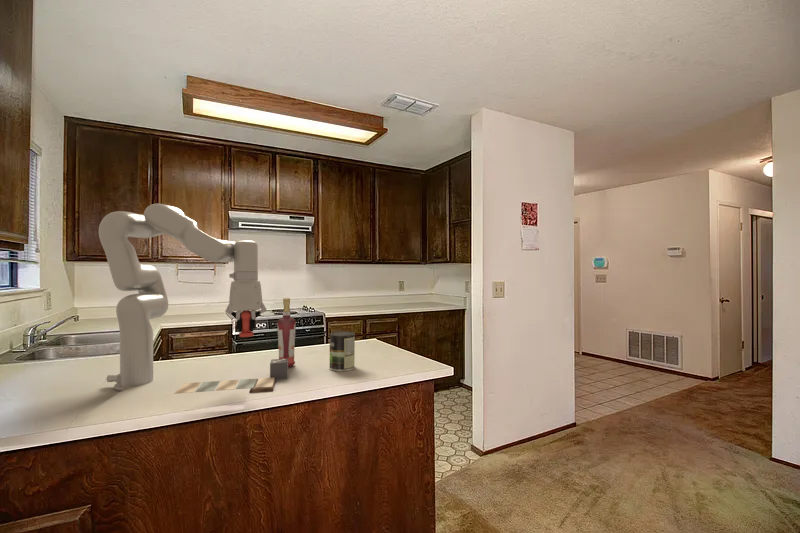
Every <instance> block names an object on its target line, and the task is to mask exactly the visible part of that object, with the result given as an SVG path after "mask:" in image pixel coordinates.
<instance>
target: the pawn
mask: <svg viewBox="0 0 800 533" xmlns="http://www.w3.org/2000/svg"><path fill="white" fill-rule="evenodd" d="M251 317H252V315H251V311H241V319H242V331H241V332H238V333H239V335H238V336H239V337H240V338H251V337H254V331H250V320H251Z"/></svg>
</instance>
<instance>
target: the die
mask: <svg viewBox="0 0 800 533" xmlns="http://www.w3.org/2000/svg"><path fill="white" fill-rule="evenodd" d="M271 377H275V378H276V379H277V380H287V379H288V377H289V368H288V359H279V358H278V359H277V358H273V359H271V360H270V363H269V378H271Z"/></svg>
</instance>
